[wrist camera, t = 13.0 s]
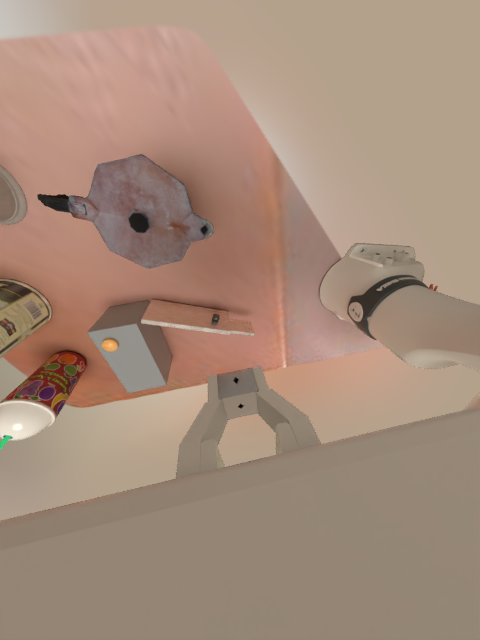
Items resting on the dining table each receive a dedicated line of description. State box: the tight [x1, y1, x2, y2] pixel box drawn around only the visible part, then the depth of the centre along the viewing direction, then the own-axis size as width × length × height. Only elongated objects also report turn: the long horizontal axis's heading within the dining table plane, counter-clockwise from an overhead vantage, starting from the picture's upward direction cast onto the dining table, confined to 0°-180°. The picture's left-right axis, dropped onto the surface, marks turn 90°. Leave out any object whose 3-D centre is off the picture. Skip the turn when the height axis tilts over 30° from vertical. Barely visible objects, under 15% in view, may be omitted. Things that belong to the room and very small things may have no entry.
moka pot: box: [38, 154, 213, 268], centre depth 24 cm, size 10×15×20 cm, turn 83°
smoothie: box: [0, 352, 85, 450], centre depth 36 cm, size 8×8×20 cm
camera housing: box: [87, 301, 172, 393], centre depth 40 cm, size 8×17×10 cm, turn 6°
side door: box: [141, 299, 255, 336], centre depth 39 cm, size 2×21×8 cm, turn 75°
